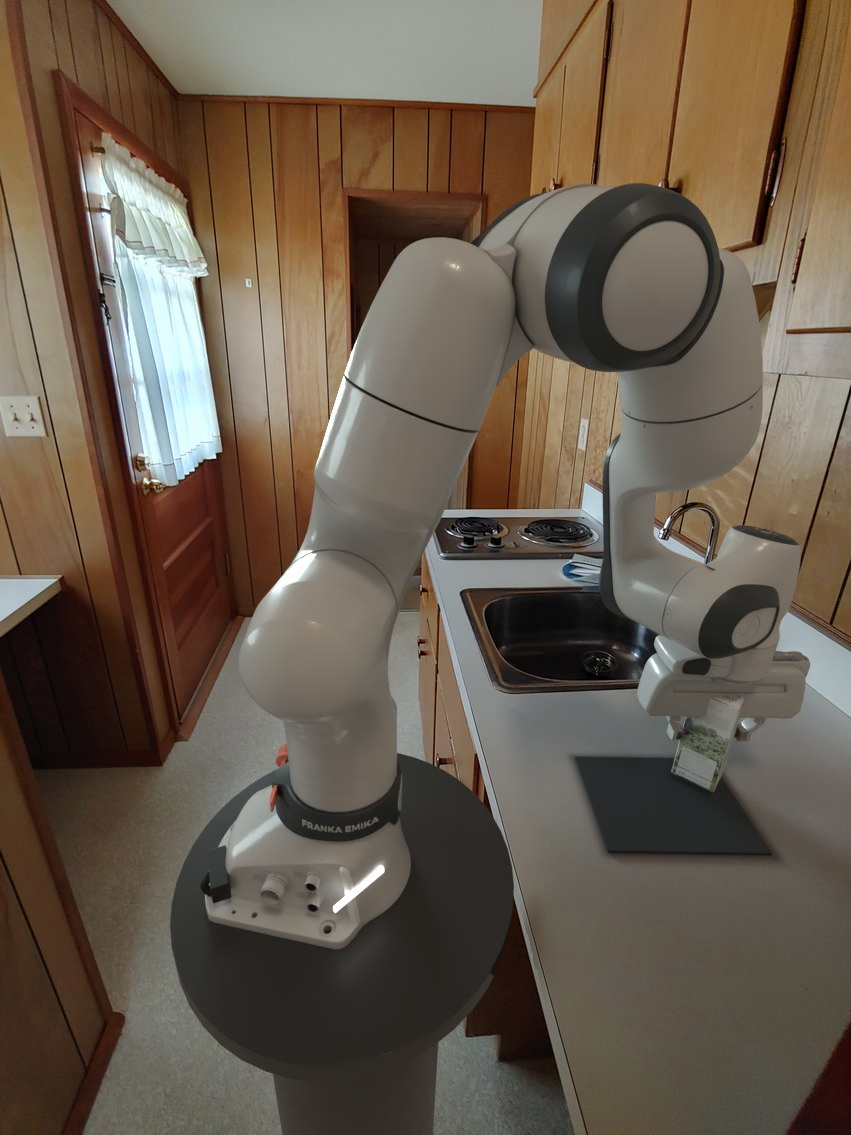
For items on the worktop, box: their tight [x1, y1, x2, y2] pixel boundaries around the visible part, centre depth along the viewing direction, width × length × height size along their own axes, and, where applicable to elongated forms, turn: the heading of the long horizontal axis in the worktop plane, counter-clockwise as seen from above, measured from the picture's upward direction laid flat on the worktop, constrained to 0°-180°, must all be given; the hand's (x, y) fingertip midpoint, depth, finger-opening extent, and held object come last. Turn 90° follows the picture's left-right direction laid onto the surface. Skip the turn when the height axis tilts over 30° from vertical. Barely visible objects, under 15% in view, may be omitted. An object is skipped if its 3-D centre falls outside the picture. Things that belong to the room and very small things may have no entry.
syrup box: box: [671, 696, 744, 792], centre depth 74 cm, size 6×6×14 cm
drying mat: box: [574, 755, 773, 856], centre depth 74 cm, size 20×16×1 cm
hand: (706, 737), depth 75 cm, fingers closed on syrup box, 7 cm apart
